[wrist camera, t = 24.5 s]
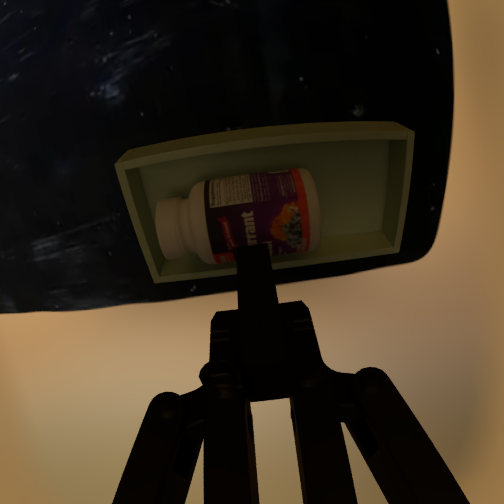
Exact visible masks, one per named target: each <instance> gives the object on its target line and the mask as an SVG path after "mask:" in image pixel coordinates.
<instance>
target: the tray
mask: <svg viewBox="0 0 504 504" xmlns="http://www.w3.org/2000/svg"><path fill="white" fill-rule="evenodd" d="M414 134H415V132H413V131H412V130H410V129H408V128H406V127H404V126H402V125H400V124H398V123H396V122H386V121H352V122H322V123H304V124H290V125H278V126H268V127H258V128H249V129H241V130H233V131H226V132H219V133H212V134H206V135H200V136H194V137H188V138H183V139H177V140H172V141H167V142H162V143H157V144H152V145H148V146H143V147H139V148H135V149H130V150H128V151H127V152H126V153H125V154H124V155H123V156H122V157H121V158H120V159H119V160H118V161H117V162H116V163H115V164H114V165H115V168H116V172H117V175H118V179H119V182H120V185H121V189H122V192H123V195H124V198H125V202H126V205H127V208H128V211H129V214H130V217H131V220H132V223H133V226H134V229H135V232H136V235H137V237H138V240H139V243H140V246H141V249H142V251H143V254H144V257H145V260H146V262H147V265H148V268H149V270H150V273H151V275H152V278H153V280H154V283H161V282H171V281H180V280H189V279H198V278H207V277H216V276H224V275H232V274H237V263H236V261H233V262H226V263H219V264H208V263H206V262H204V261H203V260H202V259H201V258H200V257H199V255H198V254H197V253H196V252H194V253H191V255H190V256H189V257H186V258H180V259H172V260H169V259H167V258H166V257H165V256H164V254H163V252H162V250H161V248H160V245H159V241H158V237H157V232H156V221H155V216H156V207H157V204H158V202H159V201H161V200H165V199H169V198H175V197H182V198H183V199H187V198H189V194H190V191H191V189H192V188H193V186H194V185H195V184H197V183H199V182H202V181H207V180H213V179H219V178H226V177H232V176H239V175H246V174H253V173H260V172H268V171H277V170H286V169H296V168H304V169H307V170H308V171H309V172H310V174H311V176H312V178H313V180H314V183H315V186H316V189H317V193H318V198H319V204H320V213H321V238H320V243H319V246H318V247H317V248H316V249H315V250H311V251H305V252H299V253H292V254H284V255H277V256H270V258H271V264H272V269H281V268H289V267H297V266H304V265H312V264H319V263H327V262H334V261H342V260H349V259H356V258H363V257H370V256H377V255H384V254H391V253H398V252H399V249H400V244H401V239H402V233H403V228H404V222H405V216H406V209H407V202H408V195H409V187H410V179H411V170H412V160H413V148H414Z"/></svg>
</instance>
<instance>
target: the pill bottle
mask: <svg viewBox="0 0 504 504" xmlns="http://www.w3.org/2000/svg"><path fill="white" fill-rule="evenodd" d="M155 221H156V232H157V237H158V241H159V245H160V248H161V250H162V252H163V254H164V256H165V257H166V258H167V259H169V260H172V259H180V258H186V257H189V256H190V255H191V253H194V252H196V253H197V254H198V255H199V257H200V258H201V259H202V260H203V261H204V262H206V263H208V264H219V263H226V262H233V261H236V247H238V246H246V245H254V244H262V243H268V248H269V253H270V256H277V255H284V254H292V253H299V252H305V251H311V250H315V249H316V248H317V247H318V246H319V243H320V238H321V213H320V204H319V198H318V193H317V189H316V186H315V183H314V180H313V178H312V176H311V174H310V172H309V171H308V170H307V169H304V168H296V169H286V170H277V171H268V172H260V173H253V174H246V175H239V176H232V177H226V178H219V179H213V180H207V181H202V182H199V183H197V184H195V185H194V186H193V188H192V189H191V191H190V194H189V198H187V199H183V198H182V197H175V198H169V199H165V200H161V201H159V202H158V204H157V207H156V216H155Z"/></svg>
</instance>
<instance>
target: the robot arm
mask: <svg viewBox="0 0 504 504" xmlns="http://www.w3.org/2000/svg"><path fill="white" fill-rule="evenodd" d="M236 263H237V291H238V309H236V310H228V311H218V312H216V313H215V315H214V317H213V319H212V320H211V331H210V332H211V334H210V358H209V362H208V363H206V364H205V365H204V366H203V368H202V369H201V370H200V374H199V378H200V380H201V382H202V384H203V385H202V386H201V387H199V388H198V389H196V390H194V391H191V392H188V393H186V394H183V395H180V396H179V395H178V394H176V393H173V392H163V393H160V394H158V395H157V396H155V397H154V398H153V399H152V401H151V402H150V404H149V406H148V409H147V411H146V414H145V417H144V419H143V422H142V424H141V427H140V429H139V432H138V435H137V437H136V440H135V442H134V445H133V448H132V450H131V453H130V456H129V459H128V461H127V464H126V466H125V469H124V472H123V475H122V477H121V480H120V483H119V486H118V488H117V491H116V494H115V497H114V500H113V503H112V504H185V501H186V497H187V494H188V491H189V487H190V484H191V480H192V477H193V473H194V470H195V466H196V463H197V459H198V456H199V452H200V449H201V445H202V442H203V439H204V504H259V493H258V481H257V469H256V456H255V444H254V431H253V418H252V413H251V406H250V402H257V401H267V400H275V399H283V398H289V399H290V405H291V419H292V424H293V431H294V438H295V445H296V453H297V460H298V467H299V474H300V482H301V489H302V497H303V504H358V503H357V498H356V493H355V488H354V483H353V478H352V473H351V468H350V463H349V459H348V454H347V449H346V445H345V440H344V435H343V431H342V427H341V422H344V423H345V424H346V427H347V428H348V430H349V432H350V434H351V436H352V438H353V439H354V441H355V443H356V445H357V447H358V449H359V450H360V452H361V454H362V456H363V458H364V460H365V461H366V463H367V465H368V467H369V468H370V470H371V472H372V474H373V476H374V478H375V480H376V481H377V483H378V485H379V487H380V489H381V491H382V492H383V494H384V496H385V498H386V500H387V502H388V503H389V504H470V503H469V501H468V500H467V498H466V496H465V495H464V493H463V491H462V490H461V488H460V486H459V485H458V483H457V481H456V480H455V478H454V476H453V475H452V473H451V472H450V470H449V468H448V467H447V465H446V464H445V462H444V460H443V459H442V457H441V456H440V454H439V452H438V451H437V450H436V448H435V446H434V445H433V443H432V441H431V440H430V438H429V437H428V435H427V434H426V432H425V431H424V429H423V428H422V426H421V424H420V423H419V421H418V420H417V418H416V417H415V415H414V414H413V412H412V411H411V410H410V408H409V406H408V405H407V403H406V402H405V400H404V399H403V397H402V396H401V394H400V393H399V392H398V390H397V389H396V387H395V386H394V384H393V383H392V381H391V380H390V378H389V377H388V376H387V374H386V373H384V371H383V370H380V369H378V368H375V367H367V368H363V369H361V370H360V371H358V372H357V373H356V374H351V373H341V372H336V371H334V370H332V369H330V368H329V367H328V366H326V364H325V363H324V362H323V360H322V357H321V353H320V349H319V345H318V341H317V337H316V334H315V330H314V326H313V322H312V318H311V315H310V311H309V308H308V307H307V306H306V305H305V304H304V303H303V302H302V300H301V301H294V302H287V303H278V297H277V292H276V286H275V280H274V275H273V269H272V264H271V258H270V253H269V248H268V243H262V244H254V245H246V246H238V247H236Z"/></svg>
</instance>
